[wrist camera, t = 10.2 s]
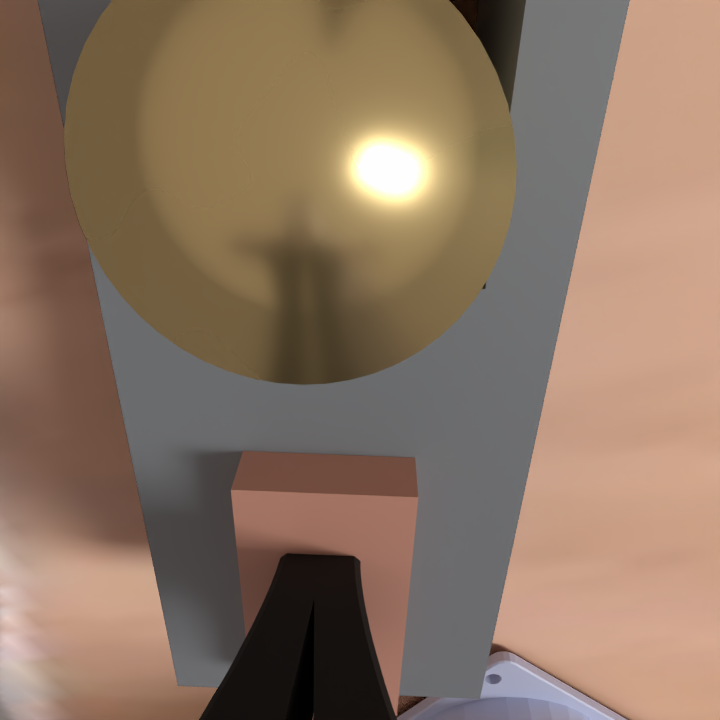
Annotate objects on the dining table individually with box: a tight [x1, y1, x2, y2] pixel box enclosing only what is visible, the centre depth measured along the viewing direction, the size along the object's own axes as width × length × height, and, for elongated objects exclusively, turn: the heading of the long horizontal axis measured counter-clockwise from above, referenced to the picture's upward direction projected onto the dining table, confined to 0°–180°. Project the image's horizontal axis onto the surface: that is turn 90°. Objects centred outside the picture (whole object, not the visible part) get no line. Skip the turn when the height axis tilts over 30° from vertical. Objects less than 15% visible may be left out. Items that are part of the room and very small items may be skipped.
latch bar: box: [231, 451, 418, 716], centre depth 12 cm, size 6×3×1 cm, turn 178°
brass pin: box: [64, 0, 517, 385], centre depth 8 cm, size 3×3×8 cm
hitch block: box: [38, 0, 630, 699], centre depth 12 cm, size 16×7×4 cm, turn 178°
